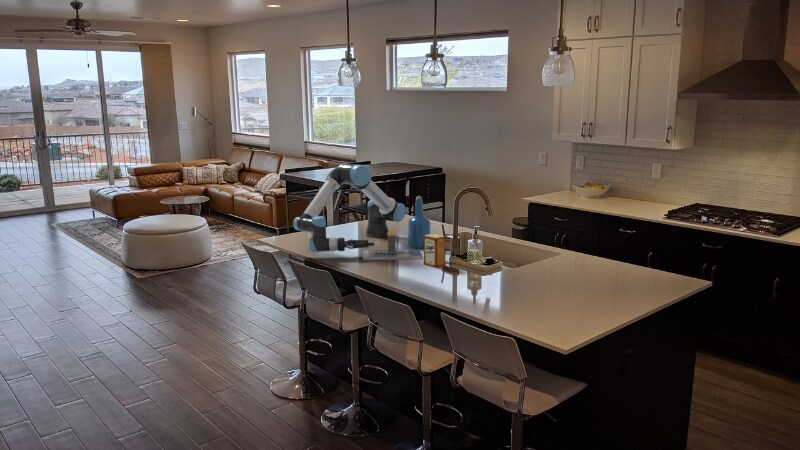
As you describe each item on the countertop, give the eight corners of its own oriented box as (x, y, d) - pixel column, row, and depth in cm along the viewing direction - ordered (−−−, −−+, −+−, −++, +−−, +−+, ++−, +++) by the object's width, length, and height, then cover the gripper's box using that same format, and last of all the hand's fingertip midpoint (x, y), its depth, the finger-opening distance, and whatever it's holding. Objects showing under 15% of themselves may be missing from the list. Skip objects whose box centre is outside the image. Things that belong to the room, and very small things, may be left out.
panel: (363, 253, 363) (363, 250, 362) (419, 251, 364) (419, 249, 363) (362, 260, 347) (362, 257, 347) (421, 258, 348) (421, 256, 348)
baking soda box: (423, 264, 337) (423, 234, 334) (432, 262, 341) (432, 232, 338) (436, 267, 330) (436, 237, 327) (445, 265, 334) (445, 235, 331)
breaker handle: (386, 251, 357) (385, 232, 355) (397, 251, 357) (396, 231, 355) (386, 253, 353) (386, 233, 351) (397, 253, 353) (396, 233, 351)
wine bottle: (431, 249, 370) (430, 198, 364) (408, 249, 370) (407, 198, 364) (430, 243, 383) (430, 194, 377) (408, 243, 384) (407, 194, 378)
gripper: (338, 248, 360) (380, 247, 360) (336, 253, 347) (380, 252, 348) (337, 235, 358) (379, 234, 359) (336, 240, 346) (379, 239, 346)
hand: (380, 243), depth 353 cm, fingers closed
